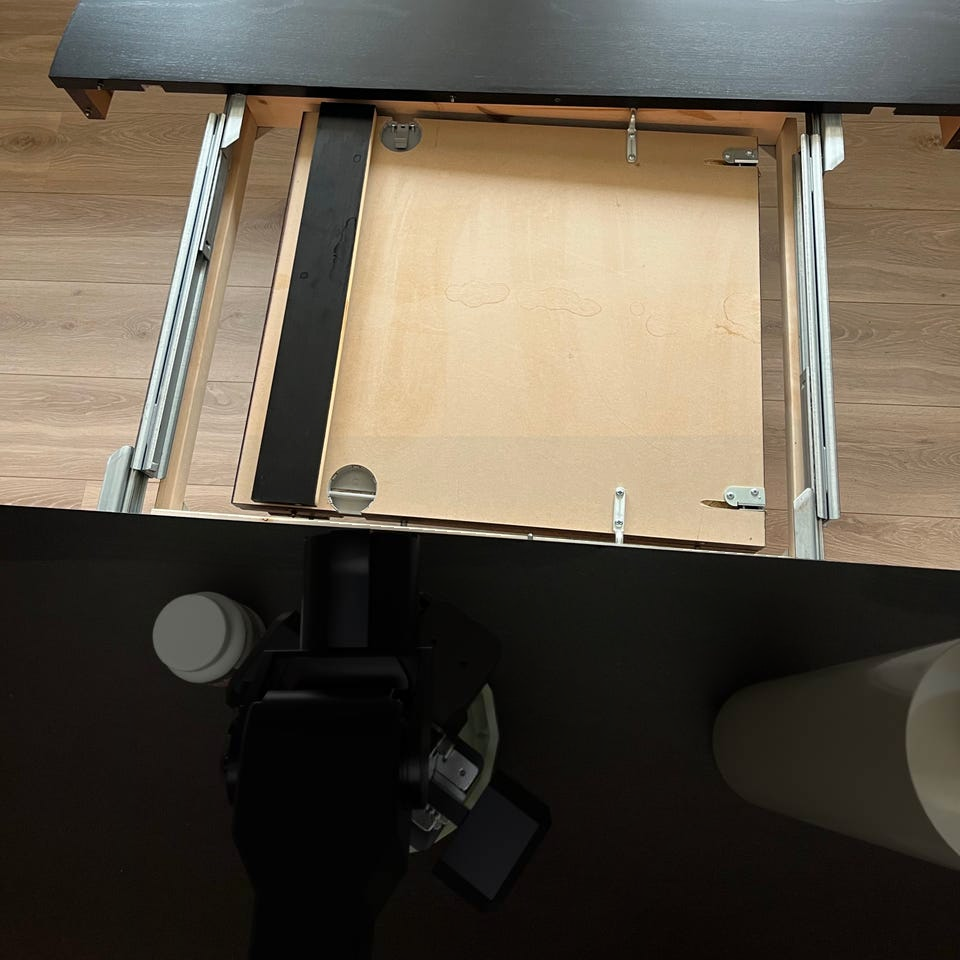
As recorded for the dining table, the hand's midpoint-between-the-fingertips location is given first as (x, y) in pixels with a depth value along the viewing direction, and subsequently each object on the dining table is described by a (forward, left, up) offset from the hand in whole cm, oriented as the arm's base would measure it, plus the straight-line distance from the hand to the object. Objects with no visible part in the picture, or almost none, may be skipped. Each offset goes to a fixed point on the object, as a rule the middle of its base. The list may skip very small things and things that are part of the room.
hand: (403, 751), depth 66 cm
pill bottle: (+4, +14, -7) cm, 16 cm away
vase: (+6, -24, -7) cm, 25 cm away
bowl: (+1, +1, -7) cm, 7 cm away
